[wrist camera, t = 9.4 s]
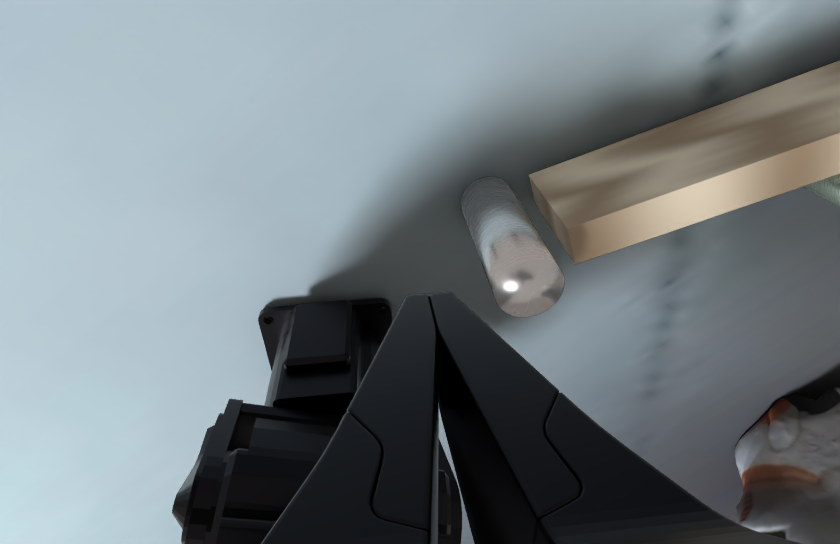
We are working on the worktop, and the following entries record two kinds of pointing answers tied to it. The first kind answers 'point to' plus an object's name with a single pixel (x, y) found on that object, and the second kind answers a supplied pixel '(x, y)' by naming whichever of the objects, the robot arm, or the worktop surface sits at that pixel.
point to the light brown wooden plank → (695, 166)
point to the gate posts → (532, 245)
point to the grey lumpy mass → (793, 470)
